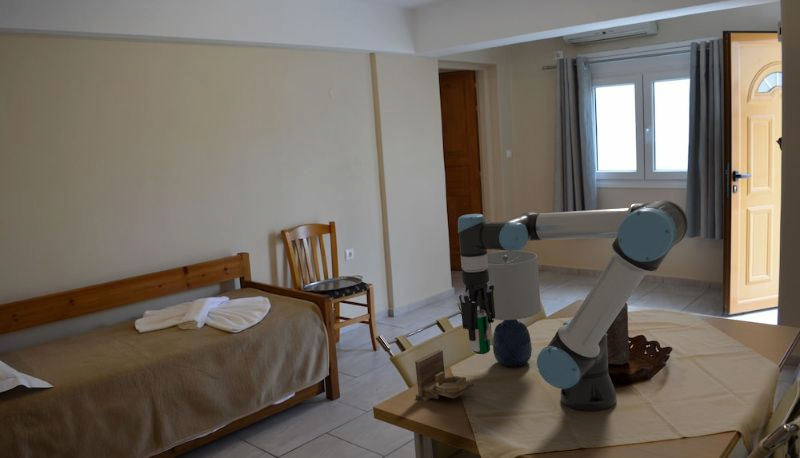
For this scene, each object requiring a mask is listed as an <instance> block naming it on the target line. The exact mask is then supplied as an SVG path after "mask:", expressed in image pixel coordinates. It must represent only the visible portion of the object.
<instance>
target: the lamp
mask: <svg viewBox="0 0 800 458" xmlns="http://www.w3.org/2000/svg"><path fill="white" fill-rule="evenodd" d="M487 258H488V267H487V269H488V272H489V281H488V282H487V285H493V286H494V291H493V296H494V307H495V318H494V319H493V320H494V321H496V320H498V321H502V322H499V323H498V324H497V325H496V326H495V328H494V331H493V334H492V335H493V337H492V339H493V340H492V348H493V349H492V350H493V354H494V358H495V360H496V361H497V362H498V363H499V364H501V365H502V366H506V367H510V368H511V367H512V368H513V367H514V368H515V367H520V366H523V365H525V364H527V362H529V361H530V359H531V357H532V351H533V349H532V348H533V347H532V341H531V340H532V339H531V335H530V332H529V329H528V328H527V326H526V325H525V323H523V322H521V321H518V320H520V319H526V318H530V317H533V316H536V315H537V314H539V313H541V310H542V305H541V304H542V303H541V294H540V293H541V292H540V278H539V262H538V255H537V254H536V253H535V252H531V251H525V250H513V251H509V250H499V251H493V252H487ZM479 309H480V308H479V306H478V309H477V310H479ZM490 314H491V313H490Z"/></svg>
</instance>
